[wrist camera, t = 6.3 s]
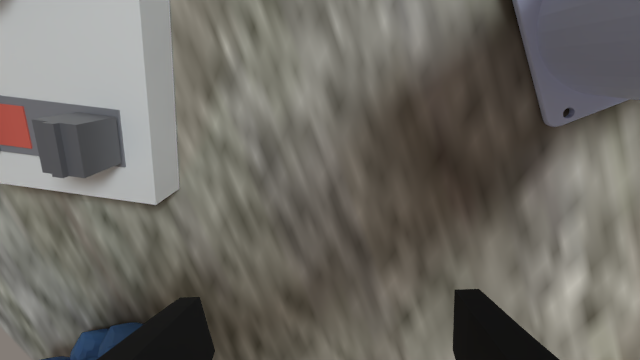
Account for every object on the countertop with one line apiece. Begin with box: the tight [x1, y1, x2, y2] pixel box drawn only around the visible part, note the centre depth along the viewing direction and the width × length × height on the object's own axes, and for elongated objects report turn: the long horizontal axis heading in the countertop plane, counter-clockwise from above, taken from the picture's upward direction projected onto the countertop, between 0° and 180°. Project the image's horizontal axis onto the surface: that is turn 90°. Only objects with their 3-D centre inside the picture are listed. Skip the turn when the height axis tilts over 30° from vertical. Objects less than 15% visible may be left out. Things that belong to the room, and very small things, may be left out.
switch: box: [32, 112, 121, 178], centre depth 15 cm, size 2×2×3 cm
